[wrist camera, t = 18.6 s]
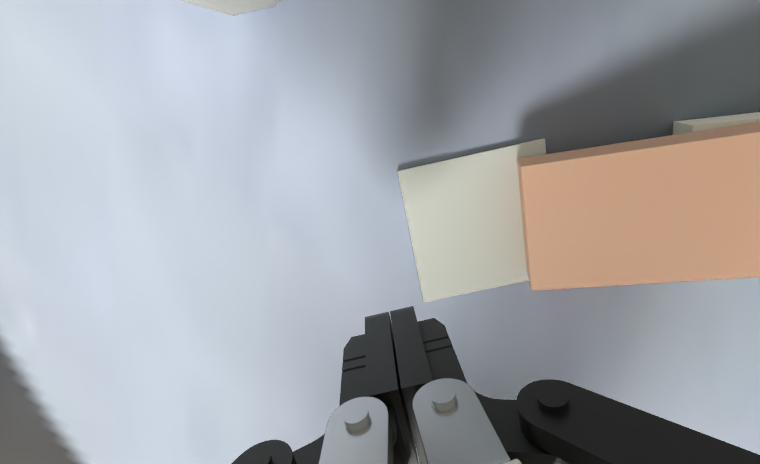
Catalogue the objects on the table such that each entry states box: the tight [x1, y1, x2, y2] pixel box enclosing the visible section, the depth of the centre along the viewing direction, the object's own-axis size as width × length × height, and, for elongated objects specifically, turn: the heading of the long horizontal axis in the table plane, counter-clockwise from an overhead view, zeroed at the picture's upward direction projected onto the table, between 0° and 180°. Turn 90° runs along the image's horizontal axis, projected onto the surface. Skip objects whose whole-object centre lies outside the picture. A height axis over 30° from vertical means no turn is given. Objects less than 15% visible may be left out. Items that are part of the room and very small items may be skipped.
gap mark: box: [397, 138, 546, 303], centre depth 17 cm, size 6×6×1 cm
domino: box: [517, 122, 760, 291], centre depth 14 cm, size 2×5×10 cm
